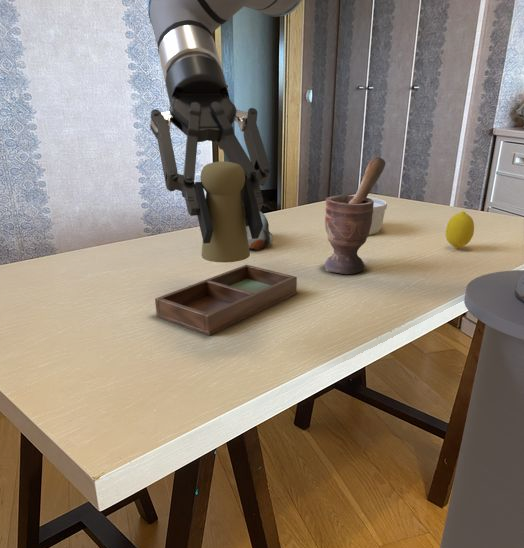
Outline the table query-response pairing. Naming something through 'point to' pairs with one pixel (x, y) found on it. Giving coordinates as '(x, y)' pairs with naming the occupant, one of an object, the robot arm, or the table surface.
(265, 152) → the robot arm
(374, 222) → the ramekin
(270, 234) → the lucky cat figurine
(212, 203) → the olive pepper mill
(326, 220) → the mortar and pestle
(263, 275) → the divided wooden tray
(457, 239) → the lemon
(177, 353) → the table surface
